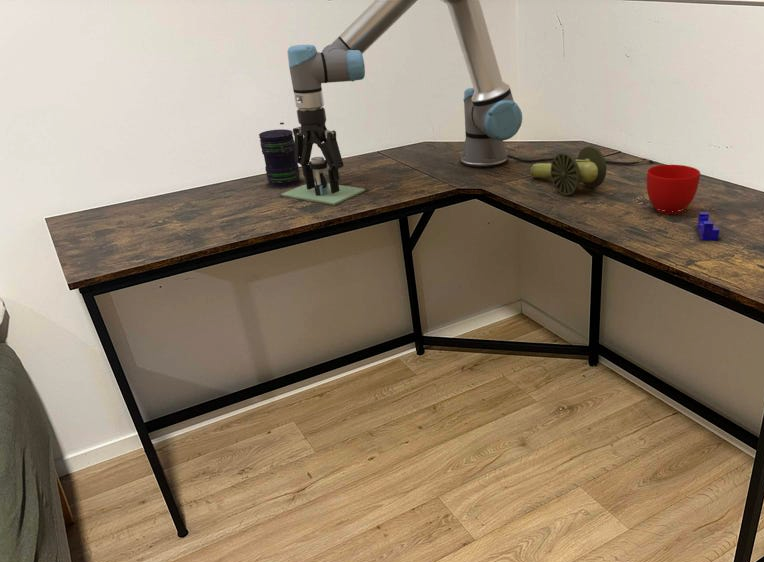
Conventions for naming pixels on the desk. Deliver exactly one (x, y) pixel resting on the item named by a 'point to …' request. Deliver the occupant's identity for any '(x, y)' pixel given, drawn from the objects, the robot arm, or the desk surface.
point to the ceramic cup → (672, 187)
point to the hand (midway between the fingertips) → (323, 190)
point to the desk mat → (327, 198)
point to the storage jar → (280, 158)
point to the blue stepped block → (707, 227)
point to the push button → (319, 175)
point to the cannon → (573, 170)
